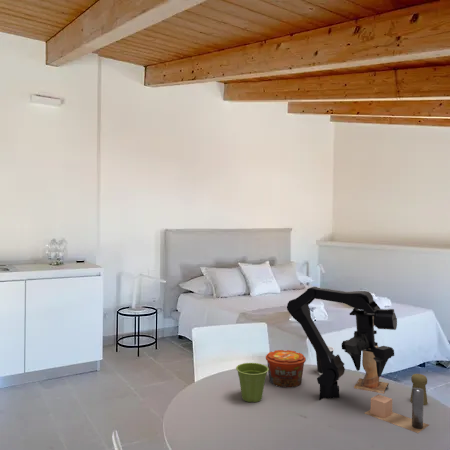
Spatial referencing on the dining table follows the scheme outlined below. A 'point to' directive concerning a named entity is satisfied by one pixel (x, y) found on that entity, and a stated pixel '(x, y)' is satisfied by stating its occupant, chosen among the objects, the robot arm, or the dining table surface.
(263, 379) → the plant pot
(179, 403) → the dining table surface
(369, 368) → the bird sculpture
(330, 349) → the dixie cup
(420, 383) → the cork
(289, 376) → the food container
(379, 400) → the cube
